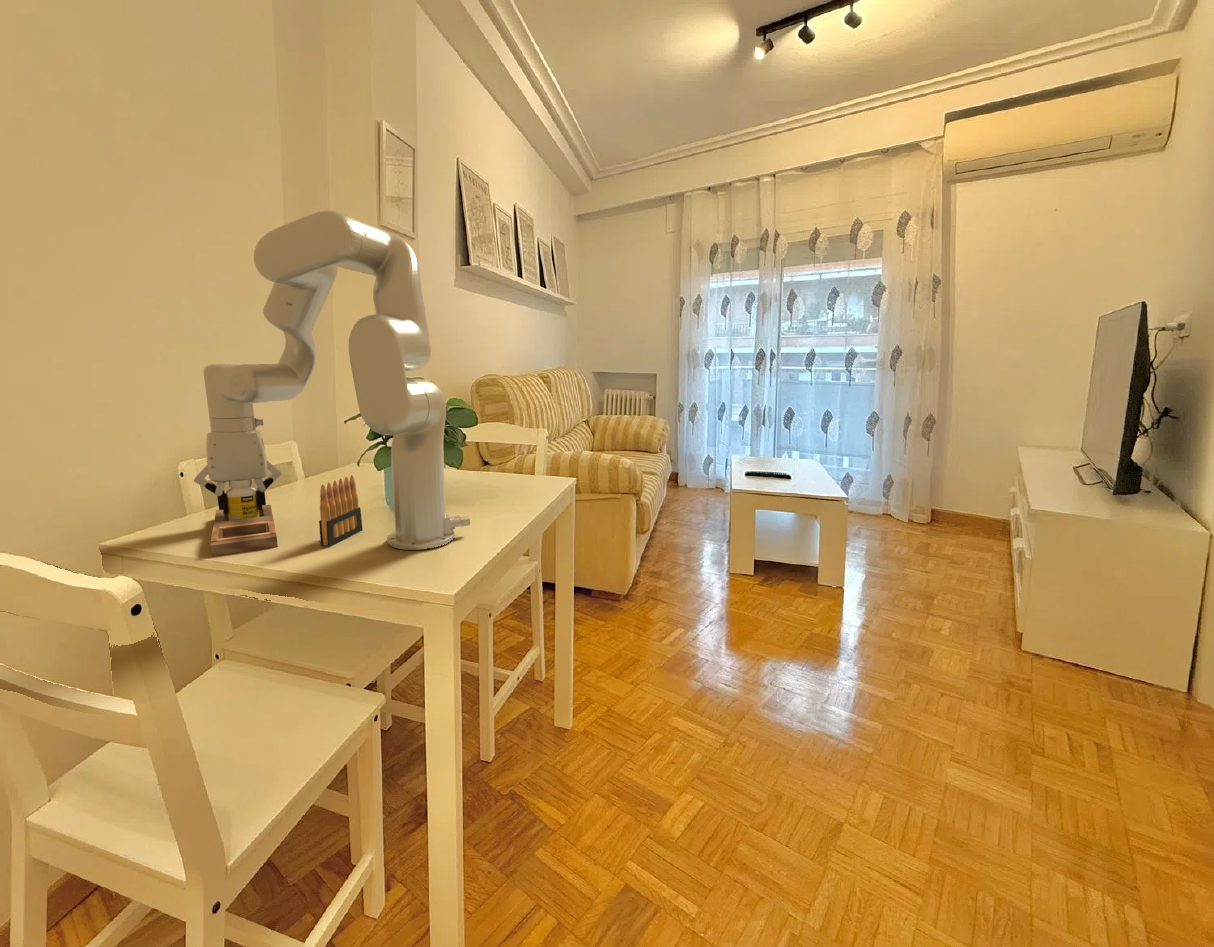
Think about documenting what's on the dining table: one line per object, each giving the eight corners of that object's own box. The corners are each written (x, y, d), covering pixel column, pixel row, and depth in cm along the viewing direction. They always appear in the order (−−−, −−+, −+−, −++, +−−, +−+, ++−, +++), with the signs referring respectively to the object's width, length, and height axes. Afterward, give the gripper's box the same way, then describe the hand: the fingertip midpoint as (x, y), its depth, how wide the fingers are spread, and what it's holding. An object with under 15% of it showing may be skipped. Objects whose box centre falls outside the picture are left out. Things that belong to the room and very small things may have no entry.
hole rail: (271, 513, 120) (270, 503, 119) (277, 546, 99) (276, 535, 98) (217, 519, 114) (215, 509, 114) (211, 556, 93) (210, 544, 93)
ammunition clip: (329, 547, 99) (323, 485, 97) (320, 546, 99) (314, 485, 97) (362, 530, 110) (358, 474, 107) (354, 529, 110) (350, 473, 107)
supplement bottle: (244, 528, 109) (239, 482, 107) (223, 526, 110) (216, 480, 108) (266, 521, 114) (261, 477, 112) (245, 519, 115) (239, 475, 113)
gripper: (281, 422, 115) (289, 501, 119) (181, 425, 106) (193, 512, 109) (283, 425, 109) (291, 509, 113) (177, 429, 100) (191, 521, 103)
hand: (243, 509), depth 111 cm, fingers closed on supplement bottle, 5 cm apart
